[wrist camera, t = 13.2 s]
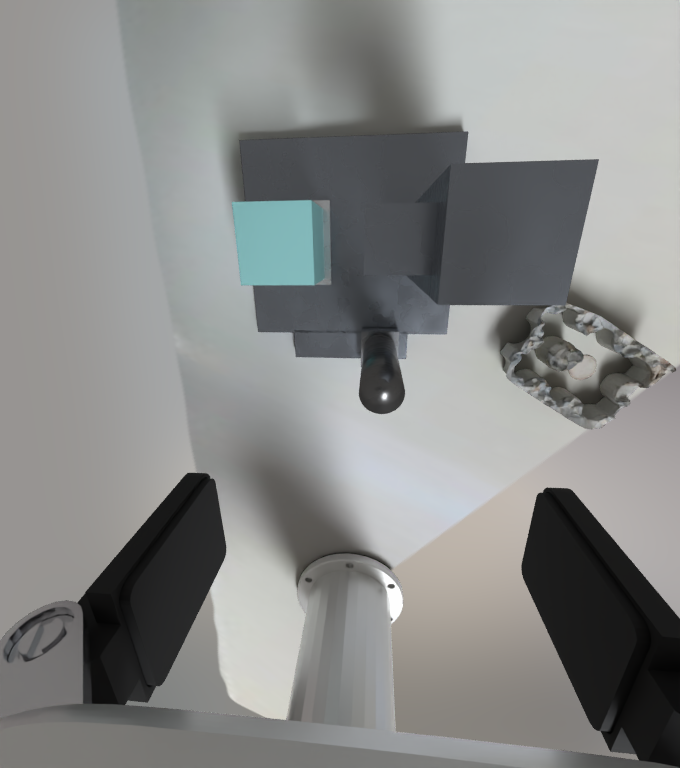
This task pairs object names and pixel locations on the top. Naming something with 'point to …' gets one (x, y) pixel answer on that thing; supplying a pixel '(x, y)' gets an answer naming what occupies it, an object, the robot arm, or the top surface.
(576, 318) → the egg carton
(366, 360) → the lever
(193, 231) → the top surface
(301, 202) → the teal cube block
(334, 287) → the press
